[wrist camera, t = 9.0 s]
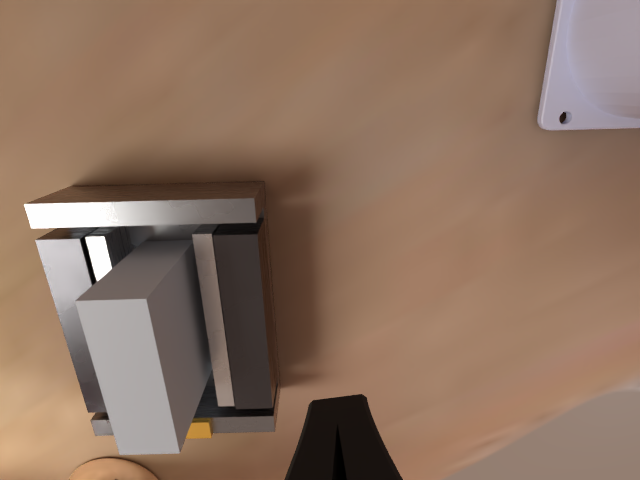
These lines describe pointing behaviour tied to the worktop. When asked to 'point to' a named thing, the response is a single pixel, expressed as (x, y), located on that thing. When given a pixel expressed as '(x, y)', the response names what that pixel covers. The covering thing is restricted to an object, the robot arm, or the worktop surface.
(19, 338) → the worktop surface
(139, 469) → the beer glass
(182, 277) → the panel
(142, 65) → the worktop surface
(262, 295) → the rack
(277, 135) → the worktop surface
